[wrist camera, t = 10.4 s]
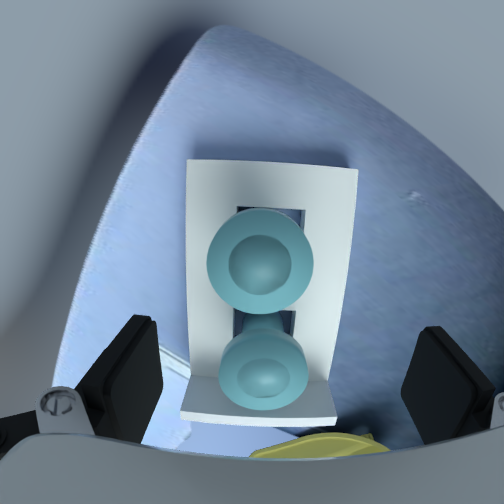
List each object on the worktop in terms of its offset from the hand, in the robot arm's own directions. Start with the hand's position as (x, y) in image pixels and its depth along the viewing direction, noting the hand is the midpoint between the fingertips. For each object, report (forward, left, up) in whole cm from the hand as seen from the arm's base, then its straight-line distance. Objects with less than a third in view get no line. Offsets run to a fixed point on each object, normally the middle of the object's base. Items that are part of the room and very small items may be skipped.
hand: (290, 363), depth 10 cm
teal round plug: (+1, 0, -19) cm, 19 cm away
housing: (0, +4, -19) cm, 20 cm away
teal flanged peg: (0, +9, -19) cm, 21 cm away
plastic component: (-10, +31, -20) cm, 38 cm away
